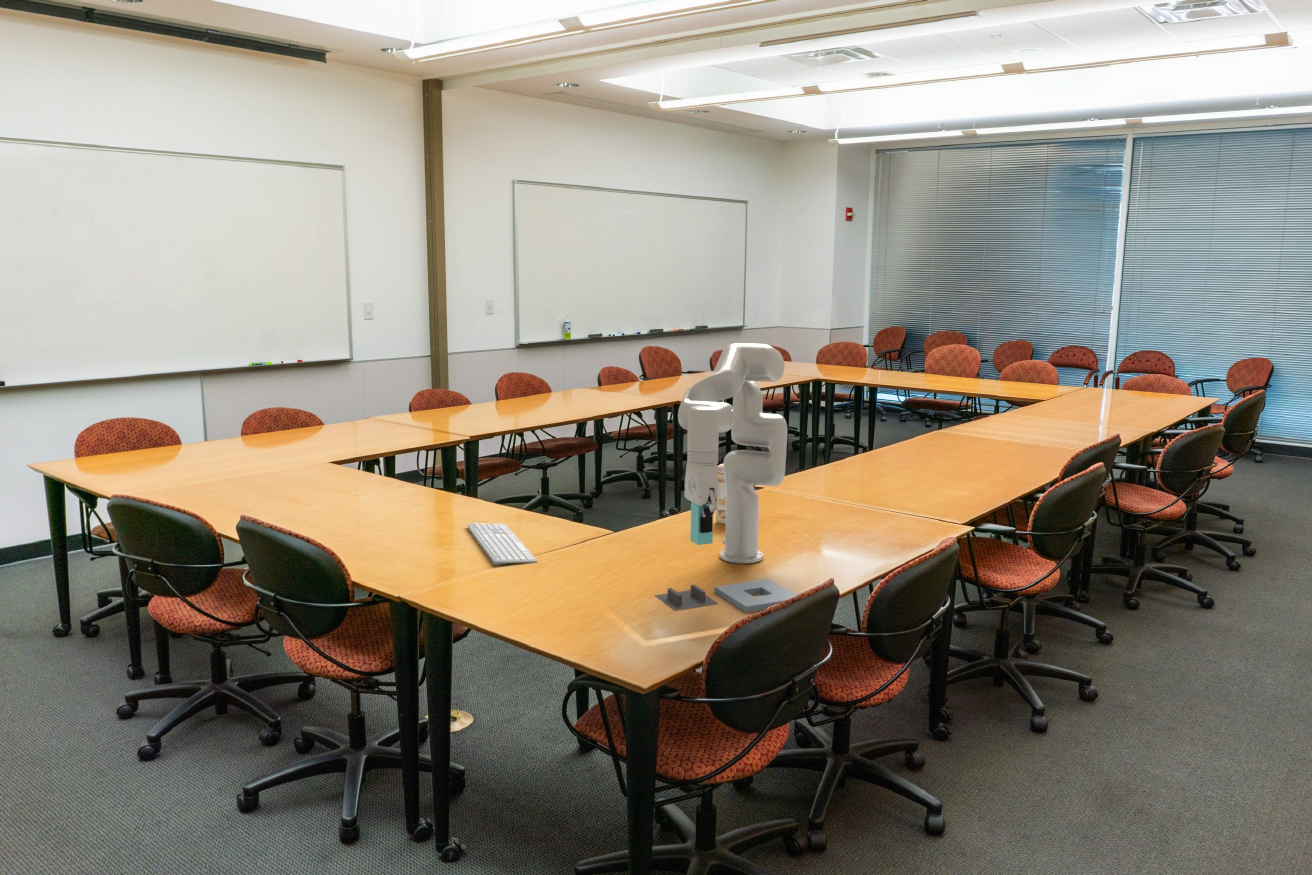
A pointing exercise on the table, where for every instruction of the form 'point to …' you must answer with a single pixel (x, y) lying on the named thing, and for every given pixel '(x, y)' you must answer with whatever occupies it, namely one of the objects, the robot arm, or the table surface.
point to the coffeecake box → (721, 496)
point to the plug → (698, 526)
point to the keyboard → (500, 543)
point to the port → (743, 593)
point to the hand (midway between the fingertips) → (701, 529)
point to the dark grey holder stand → (686, 598)
